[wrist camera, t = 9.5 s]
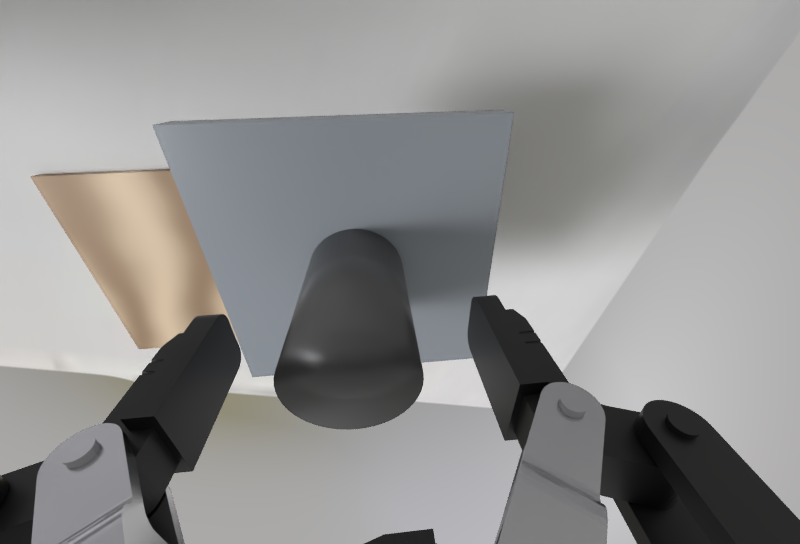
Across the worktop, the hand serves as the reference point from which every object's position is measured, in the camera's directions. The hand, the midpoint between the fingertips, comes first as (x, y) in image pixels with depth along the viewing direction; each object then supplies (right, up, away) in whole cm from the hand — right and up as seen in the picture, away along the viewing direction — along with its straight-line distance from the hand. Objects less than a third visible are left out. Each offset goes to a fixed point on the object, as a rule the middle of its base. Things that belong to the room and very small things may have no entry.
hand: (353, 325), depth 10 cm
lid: (0, +2, +4) cm, 5 cm away
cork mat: (-15, +2, +16) cm, 22 cm away
